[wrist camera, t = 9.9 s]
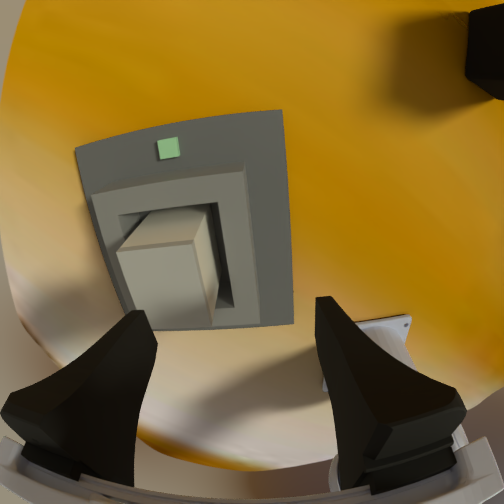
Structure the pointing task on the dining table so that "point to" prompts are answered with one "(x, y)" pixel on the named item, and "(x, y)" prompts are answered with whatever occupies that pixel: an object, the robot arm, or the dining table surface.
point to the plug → (174, 267)
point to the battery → (487, 49)
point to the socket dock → (200, 192)
